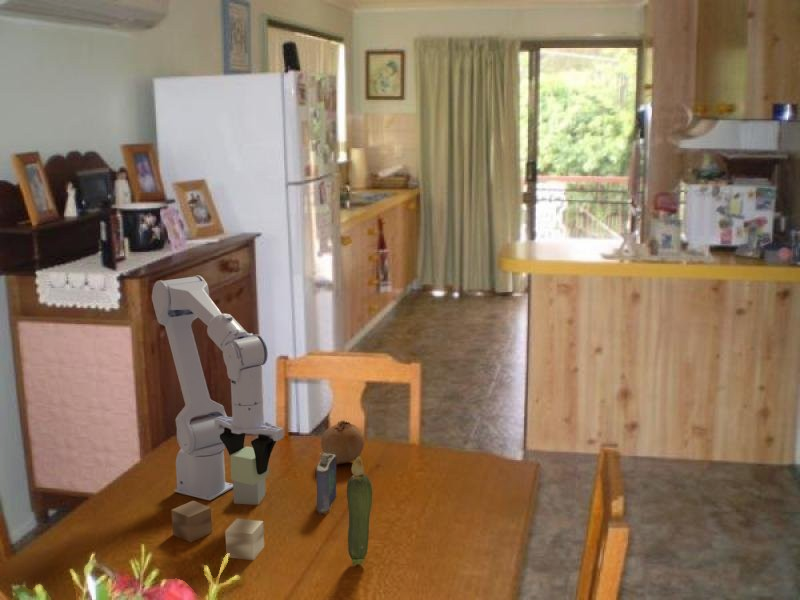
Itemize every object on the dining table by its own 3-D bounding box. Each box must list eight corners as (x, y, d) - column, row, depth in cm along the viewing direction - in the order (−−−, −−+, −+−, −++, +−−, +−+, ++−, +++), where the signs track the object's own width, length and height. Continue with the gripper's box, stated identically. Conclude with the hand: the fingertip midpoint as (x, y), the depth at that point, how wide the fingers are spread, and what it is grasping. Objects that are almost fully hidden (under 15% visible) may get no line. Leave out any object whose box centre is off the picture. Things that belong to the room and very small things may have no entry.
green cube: (231, 480, 167) (230, 455, 166) (248, 470, 171) (246, 446, 170) (252, 485, 164) (251, 459, 163) (269, 475, 169) (268, 450, 168)
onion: (363, 472, 191) (362, 428, 189) (319, 472, 191) (318, 428, 189) (365, 455, 200) (364, 413, 198) (323, 455, 201) (322, 413, 198)
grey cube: (233, 503, 176) (232, 480, 175) (241, 493, 181) (240, 470, 180) (258, 505, 176) (257, 481, 175) (265, 494, 180) (264, 471, 179)
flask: (328, 514, 171) (326, 462, 169) (313, 514, 171) (311, 461, 169) (338, 494, 180) (337, 444, 178) (324, 494, 180) (322, 444, 178)
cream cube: (226, 557, 155) (225, 531, 154) (238, 544, 160) (237, 518, 159) (253, 560, 154) (252, 534, 153) (264, 547, 159) (263, 521, 158)
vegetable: (347, 557, 155) (345, 448, 151) (372, 556, 155) (371, 447, 151) (348, 570, 150) (346, 458, 146) (373, 568, 151) (372, 457, 147)
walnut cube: (173, 535, 163) (171, 509, 162) (194, 525, 167) (193, 500, 166) (190, 542, 160) (188, 517, 159) (212, 532, 164) (210, 507, 163)
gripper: (202, 401, 165) (206, 470, 167) (265, 413, 158) (268, 484, 161) (227, 390, 171) (230, 457, 174) (289, 402, 164) (291, 471, 167)
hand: (250, 469), depth 168 cm, fingers closed on green cube, 5 cm apart
